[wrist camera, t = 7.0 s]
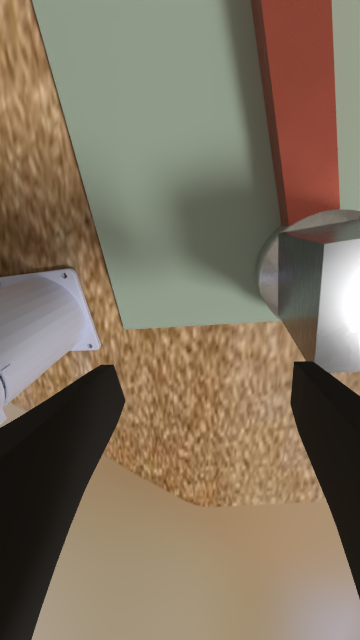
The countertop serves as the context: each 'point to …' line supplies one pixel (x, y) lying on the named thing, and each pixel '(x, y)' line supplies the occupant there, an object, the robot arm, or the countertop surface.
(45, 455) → the robot arm
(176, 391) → the countertop surface
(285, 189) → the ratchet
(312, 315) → the brushed grey square block
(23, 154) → the countertop surface
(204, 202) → the mat
